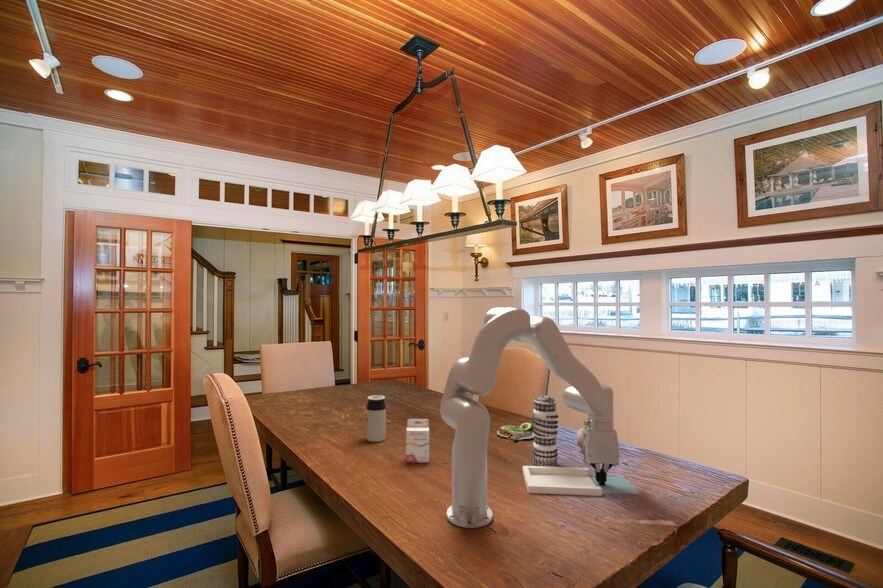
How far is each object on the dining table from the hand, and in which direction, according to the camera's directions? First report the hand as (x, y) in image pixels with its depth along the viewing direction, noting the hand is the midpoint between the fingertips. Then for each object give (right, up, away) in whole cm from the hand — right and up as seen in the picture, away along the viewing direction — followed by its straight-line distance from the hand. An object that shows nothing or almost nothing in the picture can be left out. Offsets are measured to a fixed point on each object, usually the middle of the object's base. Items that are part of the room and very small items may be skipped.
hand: (601, 483), depth 134 cm
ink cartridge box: (-59, -2, +23) cm, 64 cm away
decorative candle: (-14, -2, +16) cm, 21 cm away
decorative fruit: (+7, -2, +32) cm, 33 cm away
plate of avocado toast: (-16, -3, +55) cm, 57 cm away
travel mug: (-78, -2, +47) cm, 91 cm away
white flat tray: (-12, -1, +1) cm, 12 cm away
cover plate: (+4, -2, 0) cm, 4 cm away
